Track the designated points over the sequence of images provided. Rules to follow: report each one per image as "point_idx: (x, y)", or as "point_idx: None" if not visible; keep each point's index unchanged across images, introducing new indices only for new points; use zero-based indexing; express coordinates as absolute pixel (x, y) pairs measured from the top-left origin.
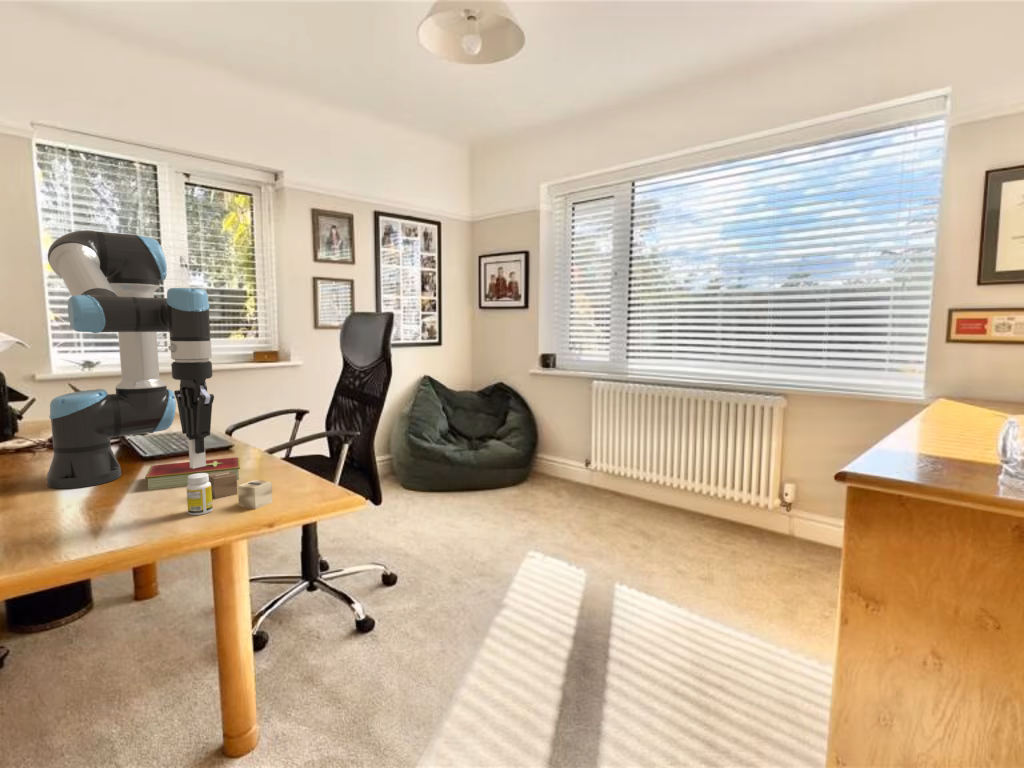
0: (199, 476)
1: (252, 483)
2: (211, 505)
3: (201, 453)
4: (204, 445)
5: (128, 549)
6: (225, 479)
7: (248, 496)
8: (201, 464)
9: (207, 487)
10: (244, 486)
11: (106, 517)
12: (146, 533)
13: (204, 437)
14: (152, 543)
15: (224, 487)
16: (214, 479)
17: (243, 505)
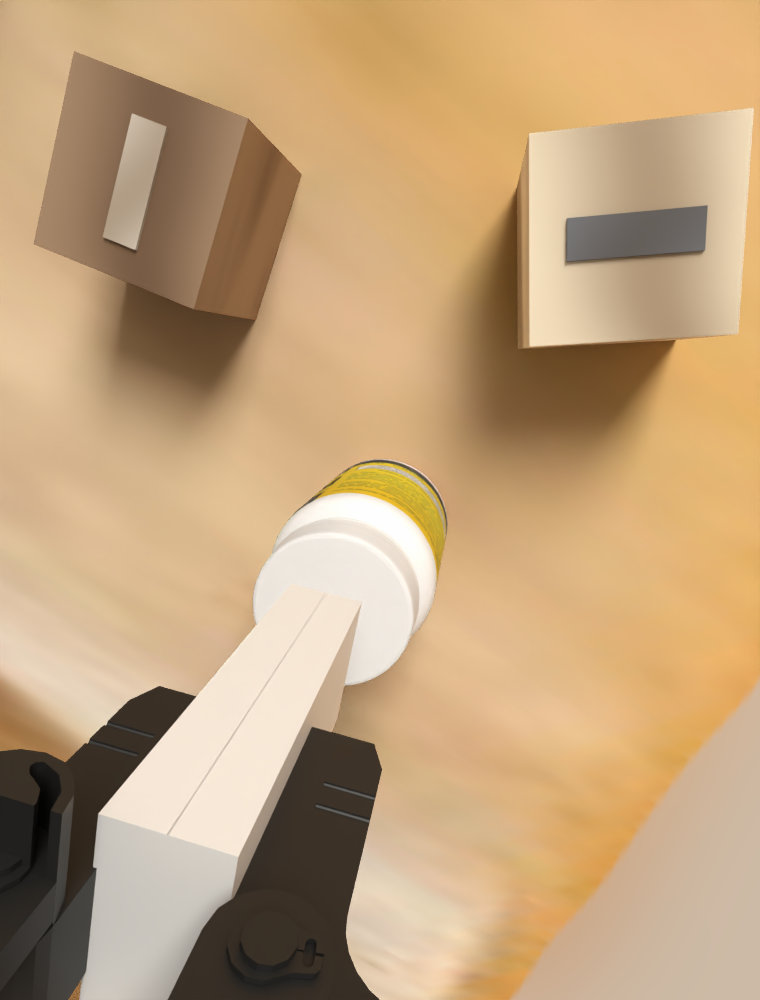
0: (366, 626)
1: (616, 248)
2: (438, 499)
3: (315, 721)
4: (290, 747)
5: (516, 950)
6: (227, 223)
7: (632, 341)
8: (346, 655)
9: (437, 570)
10: (605, 338)
11: (54, 742)
12: (414, 816)
13: (358, 976)
14: (554, 885)
15: (249, 247)
16: (196, 307)
17: (563, 346)
